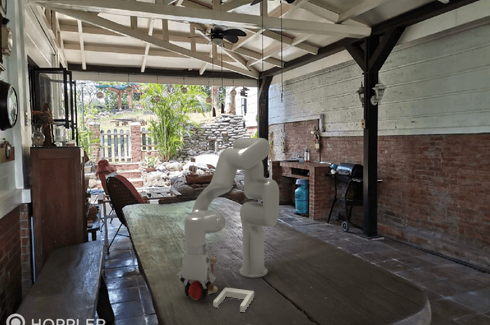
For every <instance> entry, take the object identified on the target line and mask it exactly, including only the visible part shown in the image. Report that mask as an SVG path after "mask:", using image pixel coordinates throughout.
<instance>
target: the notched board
mask: <svg viewBox="0 0 490 325" xmlns="http://www.w3.org/2000/svg"><path fill="white" fill-rule="evenodd" d="M226 296H227V297H233V298H238V299H237V300H240V299H244V300H242V302H241V304H240V305H239V313H240V312H245V313H246V311H247V310H246V309H248V308H249V307H250V305H249V304H251V303H252V302H251V301H253V300H254V299H255V291H254V290H250V289H249V290H247V289H241V288H240V289H238V288H235V287H234V288H233V287H224V288H223V290H222V291H221V292H220V293H219V295H217V296H216V298H215V299H214V300H213V303H212V305H213V306H215V307H218V305H219V304H220V303H221V302H222V301H223V300H224V299H225V297H226ZM233 298H232V299H233ZM253 298H254V299H253ZM225 300H226V299H225ZM225 300H224V301H225ZM224 301H223V302H224ZM223 302H222V303H223ZM213 306H212V307H213ZM247 307H248V308H247ZM218 308H219V307H218ZM245 310H246V311H245Z"/></svg>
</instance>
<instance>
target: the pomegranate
mask: <svg viewBox="0 0 490 325" xmlns="http://www.w3.org/2000/svg"><path fill="white" fill-rule="evenodd" d="M202 288H203V286H202V283H201V281H197V280H193V281H192V282H191V285H190V286H189V290H188V292H189V297H191V298H192V299H193V300H194V299H196V300H195V301H198V300H199V299H202ZM197 299H198V300H197Z"/></svg>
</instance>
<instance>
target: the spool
mask: <svg viewBox="0 0 490 325" xmlns="http://www.w3.org/2000/svg"><path fill="white" fill-rule="evenodd" d="M209 259H210V267H211V273H212V274H213V275H214V271H215V270H214V264H216V263H217V261H218V260H217V257H215V256H209ZM214 276H215V275H214ZM207 280H208V281H209V280H210V278H209V277H207ZM214 282H215V280H214V281H213V282H212V283H211V284H210V285H209V286H208V293H214V292H217V291H219V290H218V289H219V288H218V287H217V286H215V285H214V284H215V283H214ZM217 293H218V292H217Z"/></svg>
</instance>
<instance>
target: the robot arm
mask: <svg viewBox="0 0 490 325" xmlns="http://www.w3.org/2000/svg"><path fill="white" fill-rule="evenodd" d="M270 151H271V144H270V142H269V141H268V140H267V139H266V138H264V137H263V138H262V137H239V138H236V139H235V140H234V141H233V143H232V148H225V149H223V150H222V151H221V152H220V154H219V156H218V159H217V163H216V166H215V169H214V173H213V175H212V178H211V181H210V183H209V184H208V185H207V186H206V187H205V188H204V189H203V190H202V191H201V192H200V193H199V195H198V197H197V198H196V199H195V201H194V205H193V208H192V210H191V214H189V215H187V216H186V217H185V218H184V252H183V253H182V254H183V255H182V263H181V269H180V270H179V271H178V272H177V274H176V277H177V278H179V279H180V281H181V282H182V284H183V287H184V294H185V297H187V298H188V297H190V295H189V292H188V290H189V286H190V285H191V284H192V282H191V281H194V280H197V281H199V282H201V283H202V286H203V288H202V297H201V299H202V300H205V299H206V298H207V297H208V296H209V295H208V286H209V285H210V284H211V283H212V282H213V281H214V282H215V281H216V278H217V277H216V276H215V275H213V274H212V273H211V267H210V259H209V257H210V254H209V250H210V247H209V246H207V244H206V242H207V241H206V234H213V233H218V232H220V231H222V230H223V229H224V228H225V226H226V218H225V217H224V215H223V214H222V213H219V212H217V211H211V210H209V206H210V205H211V204H212V203H213V201H214V200H215V199H217V198H218V197H219V196H222V195H224V194H227V193H229V192H230V191H231V190H232V189H233V186H234V182H235V179H236V175H237V173H238V171H244V173H243V177H244V178H243V194H244V196H245V197H246V198H249V199H251V200H256V201H246V202H244V203H243V204H242V205H241V206H240V209H239V217H240V222H241V228H242V229H241V230H242V231H241V232H242V234H241V235H242V266H241V267H240V268H239V269H238V270H239V275H241V276H243V277H245V278H261V277H265V276H266V275H267V274H268V268H267V267H265V233H264V229H263V227H266V228H272V227H274V226H276V224H277V222H278V220H279V211H280V187H279V185H278V183H277V181H276V180H274V179H272V178H265V177H264V175H265V173H264V171H265V170H264V168H265V167H264V163H263V161H264V159H266V158H268V156H269V153H270ZM257 200H258V201H262V203H261V202H257ZM207 277H209V278H210V280H209V281H208V280H207Z"/></svg>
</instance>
